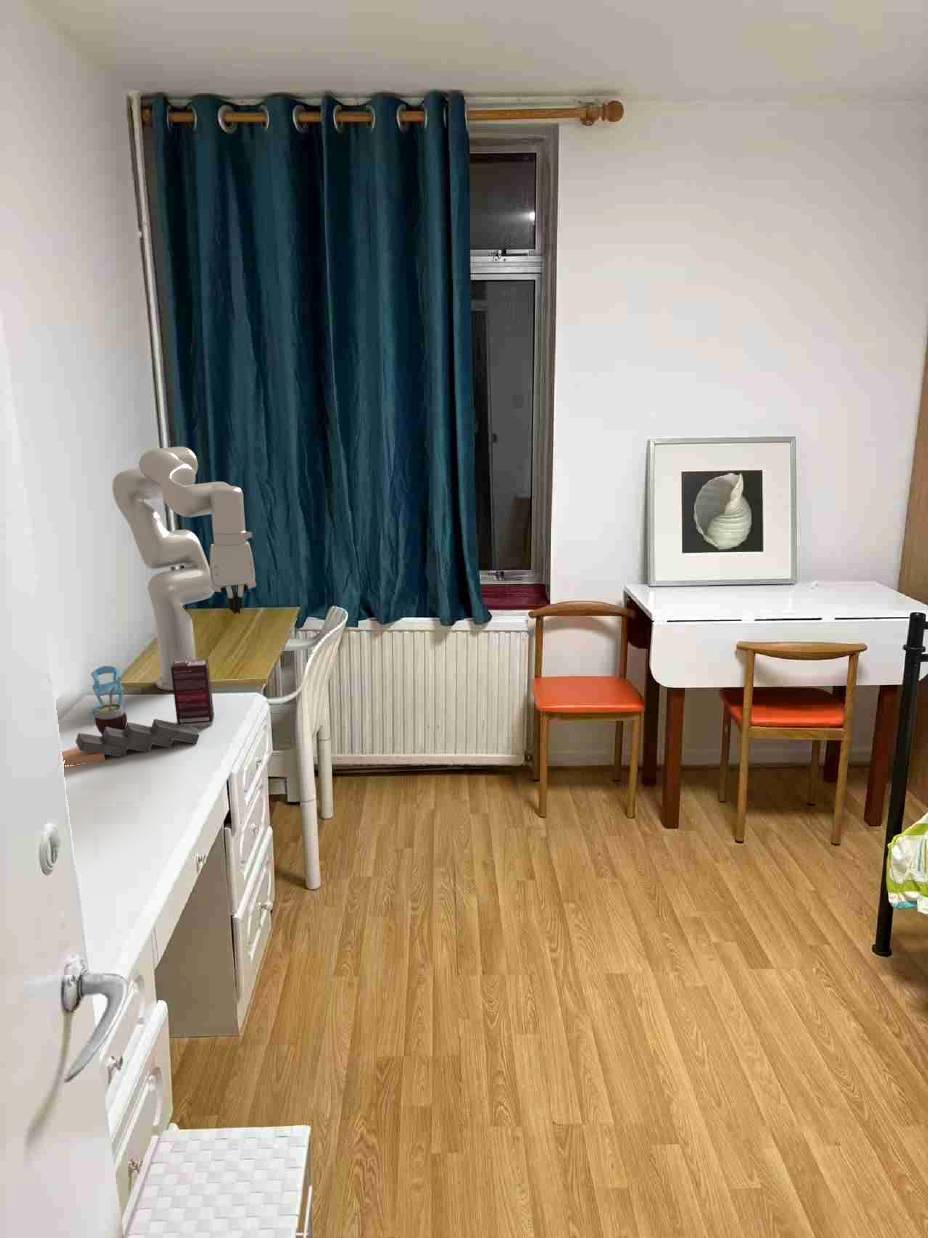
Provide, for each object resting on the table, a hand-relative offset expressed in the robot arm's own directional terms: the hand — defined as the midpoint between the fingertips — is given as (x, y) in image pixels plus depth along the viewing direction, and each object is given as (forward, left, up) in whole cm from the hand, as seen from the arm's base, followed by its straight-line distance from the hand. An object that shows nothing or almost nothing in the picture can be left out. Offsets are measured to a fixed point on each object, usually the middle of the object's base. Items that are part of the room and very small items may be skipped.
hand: (236, 611), depth 235 cm
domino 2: (+11, -24, -26) cm, 37 cm away
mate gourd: (+3, -31, -27) cm, 42 cm away
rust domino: (+11, -34, -26) cm, 45 cm away
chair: (-15, -31, -27) cm, 44 cm away
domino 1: (+12, -30, -26) cm, 41 cm away
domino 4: (+11, -13, -26) cm, 31 cm away
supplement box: (0, -12, -27) cm, 30 cm away
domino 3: (+11, -19, -26) cm, 34 cm away
